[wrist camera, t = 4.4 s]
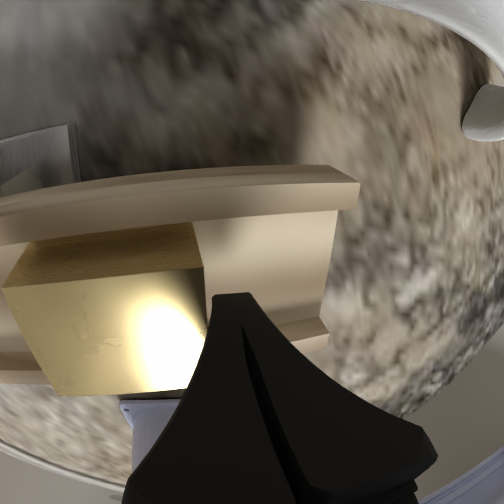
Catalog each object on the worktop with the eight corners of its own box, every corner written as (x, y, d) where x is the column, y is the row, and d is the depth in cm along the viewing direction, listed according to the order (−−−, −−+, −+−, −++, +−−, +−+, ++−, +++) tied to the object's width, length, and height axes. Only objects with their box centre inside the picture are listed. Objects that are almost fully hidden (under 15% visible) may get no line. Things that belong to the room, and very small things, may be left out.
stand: (114, 325, 18) (103, 384, 14) (35, 325, 17) (14, 377, 13) (75, 122, 12) (29, 139, 8) (-18, 145, 11) (-71, 171, 7)
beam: (301, 311, 17) (325, 349, 14) (-93, 340, 10) (-108, 369, 7) (321, 159, 13) (361, 179, 10) (-139, 237, 6) (-163, 261, 3)
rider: (199, 329, 13) (212, 383, 10) (68, 341, 11) (58, 396, 9) (191, 220, 10) (203, 266, 8) (31, 239, 9) (1, 288, 6)
